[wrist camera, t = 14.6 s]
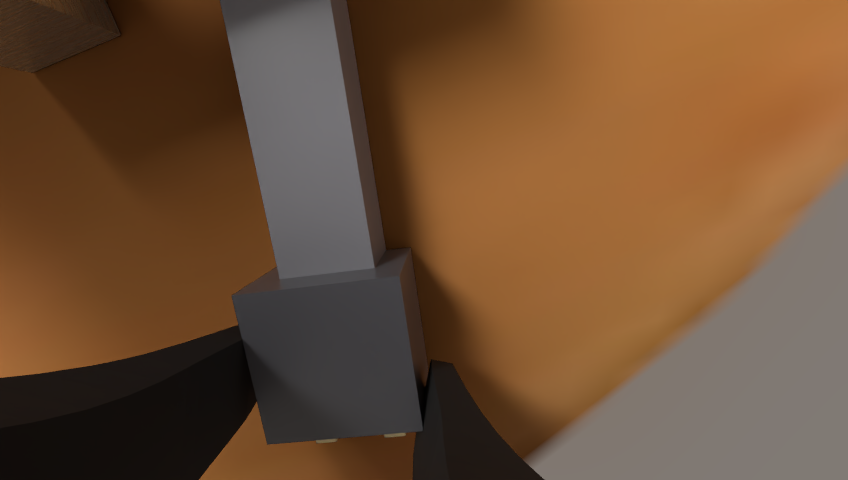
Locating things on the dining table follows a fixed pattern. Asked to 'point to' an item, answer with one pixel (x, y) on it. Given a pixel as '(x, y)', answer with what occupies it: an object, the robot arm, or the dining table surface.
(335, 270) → the plug
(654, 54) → the dining table surface
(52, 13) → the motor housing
